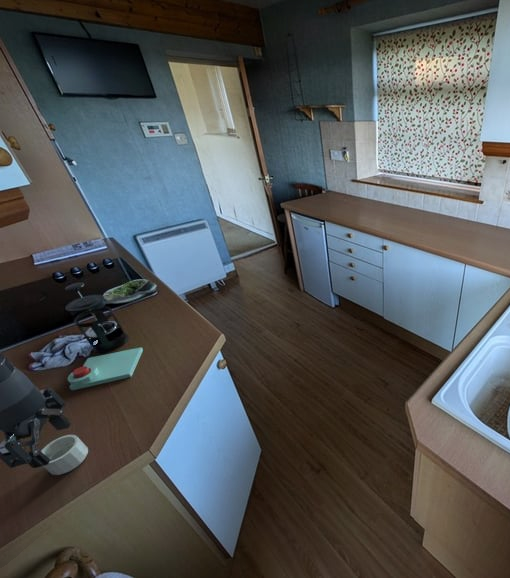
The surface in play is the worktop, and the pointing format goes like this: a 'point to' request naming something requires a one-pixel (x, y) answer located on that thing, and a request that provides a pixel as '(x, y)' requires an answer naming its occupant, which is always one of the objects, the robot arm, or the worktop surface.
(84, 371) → the tare button
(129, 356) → the scale
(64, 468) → the bowl
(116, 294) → the salad plate
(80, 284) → the french press
